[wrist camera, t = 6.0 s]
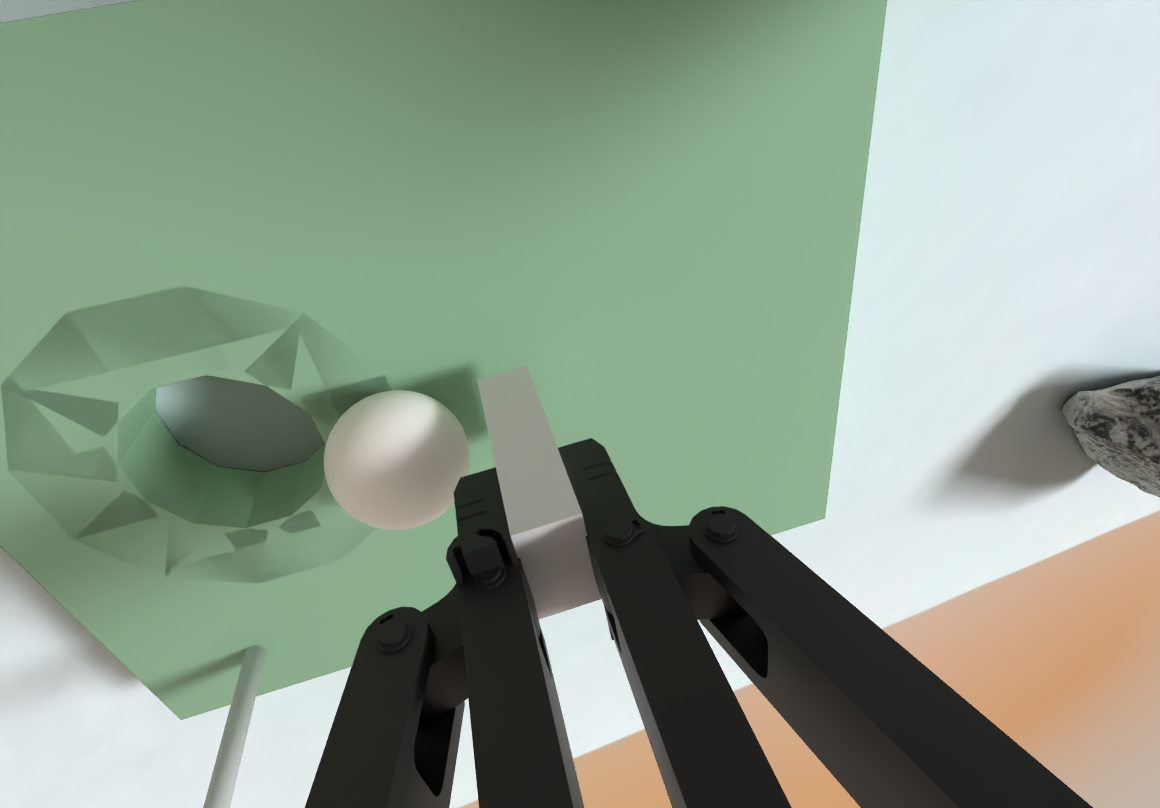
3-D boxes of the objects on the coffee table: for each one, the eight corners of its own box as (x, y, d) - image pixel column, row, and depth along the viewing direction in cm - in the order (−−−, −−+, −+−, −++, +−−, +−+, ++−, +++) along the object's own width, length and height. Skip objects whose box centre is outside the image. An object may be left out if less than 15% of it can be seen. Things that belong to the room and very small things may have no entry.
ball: (266, 440, 15) (392, 454, 13) (362, 361, 18) (474, 366, 16) (327, 548, 17) (441, 571, 15) (404, 462, 20) (506, 474, 19)
